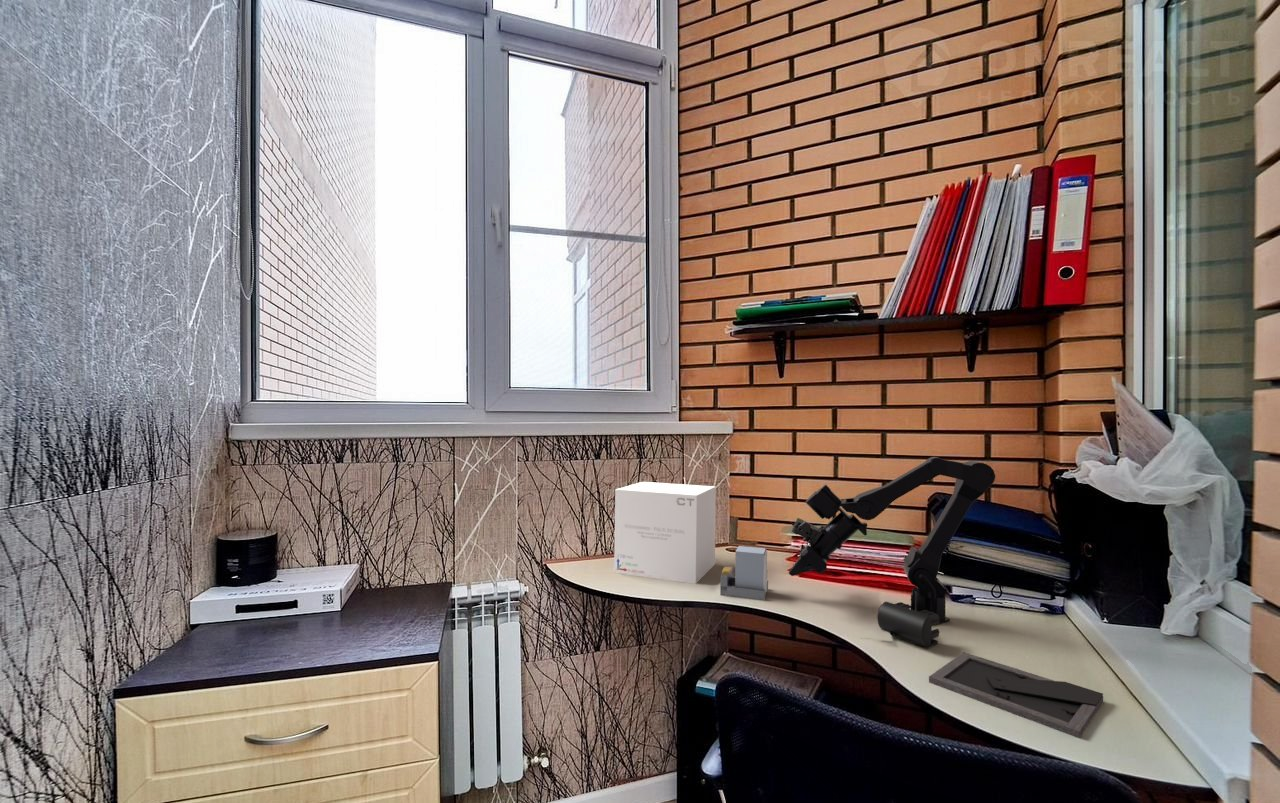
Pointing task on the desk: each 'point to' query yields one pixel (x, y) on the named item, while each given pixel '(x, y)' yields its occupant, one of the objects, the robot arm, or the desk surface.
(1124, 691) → the desk surface
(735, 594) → the rack deck
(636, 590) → the desk surface
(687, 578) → the cube
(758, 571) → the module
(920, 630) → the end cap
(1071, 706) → the picture frame
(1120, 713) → the desk surface
